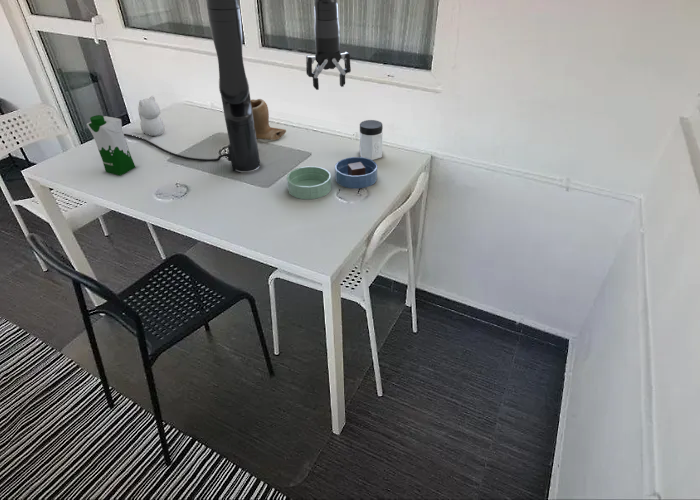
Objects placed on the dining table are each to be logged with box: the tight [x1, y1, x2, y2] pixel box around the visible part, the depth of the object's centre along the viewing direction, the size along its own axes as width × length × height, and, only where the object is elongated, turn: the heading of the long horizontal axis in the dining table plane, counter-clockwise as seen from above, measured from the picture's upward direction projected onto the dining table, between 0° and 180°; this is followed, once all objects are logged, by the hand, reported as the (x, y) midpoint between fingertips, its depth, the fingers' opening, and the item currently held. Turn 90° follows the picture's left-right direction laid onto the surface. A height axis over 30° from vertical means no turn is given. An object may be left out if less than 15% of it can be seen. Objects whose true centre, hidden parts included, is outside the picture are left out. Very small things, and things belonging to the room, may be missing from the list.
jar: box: [359, 119, 384, 161], centre depth 164 cm, size 9×8×12 cm
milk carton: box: [86, 114, 136, 177], centre depth 155 cm, size 9×9×20 cm
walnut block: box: [348, 162, 365, 176], centre depth 151 cm, size 5×5×5 cm
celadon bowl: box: [286, 165, 332, 200], centre depth 146 cm, size 14×14×5 cm
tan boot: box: [251, 98, 287, 141], centre depth 178 cm, size 15×12×15 cm
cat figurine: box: [137, 95, 165, 137], centre depth 183 cm, size 9×12×15 cm
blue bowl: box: [334, 156, 378, 189], centre depth 151 cm, size 14×14×5 cm
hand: (329, 87), depth 149 cm, fingers open, 8 cm apart
